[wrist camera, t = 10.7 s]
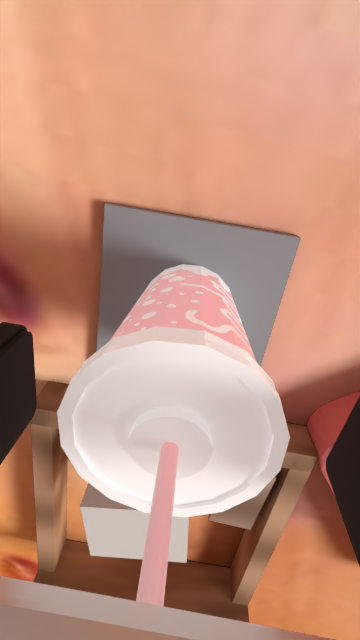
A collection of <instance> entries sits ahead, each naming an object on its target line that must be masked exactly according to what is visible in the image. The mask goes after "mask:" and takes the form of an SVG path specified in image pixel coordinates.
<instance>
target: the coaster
mask: <svg viewBox="0 0 360 640" xmlns="http://www.w3.org/2000/svg"><path fill="white" fill-rule="evenodd" d="M300 239H301V238H300V237H299V236H297V235H291V234H286V233H280V232H274V231H269V230H263V229H257V228H251V227H246V226H240V225H234V224H228V223H223V222H217V221H211V220H206V219H200V218H194V217H188V216H183V215H177V214H171V213H166V212H160V211H154V210H148V209H143V208H137V207H131V206H126V205H120V204H114V203H106V204H105V205H104V224H103V242H102V260H101V279H100V297H99V315H98V333H97V351H98V350H99V349H100V348H102V347H103V346H104V345H105V344H107V343H108V342H109V341H110V339H111V338H112V337H113V335H114V334H115V332H116V331H117V329H118V328H119V327H120V325H121V324H122V322H123V321H124V319H125V318H126V317H127V315H128V314H129V312H130V311H131V309H132V308H133V307H134V305H135V304H136V302H137V301H138V299H139V298H140V297H141V295H142V294H143V292H144V291H145V289H146V288H147V287H148V285H149V284H150V282H151V281H152V280H153V279H154V278H156V277H157V276H158V275H159V274H160V273H162V272H163V271H164V270H165V269H168V268H172V267H175V266H178V265H182V264H186V265H197V266H202V267H204V268H206V269H208V270H210V271H212V272H214V273H216V274H218V275H219V277H220V278H221V279H222V280H223V281H224V283H225V284H226V285H227V286H228V287H229V289H230V292H231V295H232V297H233V300H234V303H235V306H236V308H237V311H238V314H239V316H240V319H241V322H242V324H243V327H244V330H245V333H246V335H247V338H248V341H249V343H250V346H251V349H252V352H253V354H254V357H255V360H256V362H257V363H258V364H259V366H261V363H262V359H263V356H264V353H265V350H266V347H267V344H268V340H269V337H270V334H271V331H272V328H273V324H274V321H275V318H276V315H277V312H278V309H279V305H280V302H281V299H282V296H283V293H284V290H285V286H286V283H287V280H288V277H289V274H290V271H291V267H292V264H293V261H294V258H295V255H296V251H297V248H298V245H299V242H300Z"/></svg>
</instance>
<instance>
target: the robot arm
mask: <svg viewBox="0 0 360 640" xmlns="http://www.w3.org/2000/svg"><path fill="white" fill-rule="evenodd" d="M36 407H37V400H36V384H35V368H34V352H33V337H32V333H31V332H28V331H27V329H26V327H25V326H23V325H18V324H12V323H7V322H2V323H0V465H1V463H2V462H3V460H4V459H5V457H6V456H7V454H8V453H9V451H10V450H11V448H12V447H13V445H14V444H15V443H16V441H17V440H18V438H19V437H20V435H21V434H22V432H23V431H24V429H25V428H26V426H27V425H28V424H29V422H30V421H31V419H32V418H33V416H34V414H35V411H36ZM326 471H327V474H328V477H329V480H330V483H331V486H332V489H333V491H334V494H335V497H336V500H337V503H338V506H339V509H340V511H341V514H342V517H343V520H344V523H345V526H346V528H347V531H348V534H349V537H350V540H351V543H352V545H353V548H354V551H355V554H356V557H357V560H358V563H359V565H360V396H359V398H358V400H357V402H356V403H355V405H354V407H353V409H352V411H351V413H350V415H349V417H348V419H347V421H346V423H345V424H344V426H343V428H342V430H341V432H340V434H339V436H338V438H337V440H336V442H335V443H334V445H333V447H332V449H331V451H330V453H329V455H328V457H327V459H326ZM0 640H334V639H329V638H324V637H319V636H314V635H309V634H304V633H299V632H294V631H289V630H284V629H279V628H273V627H268V626H263V625H258V624H253V623H247V622H242V621H237V620H232V619H227V618H221V617H216V616H211V615H206V614H200V613H195V612H190V611H185V610H180V609H174V608H169V607H164V606H158V605H153V604H148V603H143V602H137V601H132V600H127V599H122V598H116V597H111V596H106V595H100V594H95V593H90V592H84V591H79V590H73V589H68V588H63V587H57V586H52V585H46V584H41V583H36V582H30V581H25V580H19V579H14V578H8V577H3V576H0Z"/></svg>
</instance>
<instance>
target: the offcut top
mask: <svg viewBox="0 0 360 640" xmlns="http://www.w3.org/2000/svg"><path fill="white" fill-rule="evenodd" d="M80 509H81V513H82V518H83V523H84V528H85V532H86V537H87V542H88V546H89V551H90V556H102V557H116V558H129V559H142V560H143V555H144V548H145V542H146V536H147V530H148V524H149V518H150V513H144V512H142V511H139V510H137V509H134V508H132V507H129V506H126V505H124V504H121V503H119V502H116V501H114V500H111V499H109V498H108V497H106V496H105V495H104V494H102V493H101V492H100V491H99V490H97V489H96V488H95V487H93V486H92V485H91V484H90V483H89V484H88V487H87V489H86V492H85V495H84V497H83V500H82V503H81V505H80ZM188 527H189V517H176V516H172V524H171V534H170V545H169V555H168V561H169V562H182V563H187V546H188Z"/></svg>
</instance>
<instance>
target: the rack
mask: <svg viewBox="0 0 360 640" xmlns="http://www.w3.org/2000/svg"><path fill="white" fill-rule="evenodd" d="M68 386H69V385H67V384H61V383H55V382H50V381H49V382H48V383H47V384H46V386H45V387H44V389H43V390H42V391H41V393H40V394H39V395H38V397H37V398H36V400H37V407H36V411H35V414H34V416H33V418H32V419H31V438H32V457H33V476H34V495H35V514H36V533H37V552H38V572H37V574H36V577H35V579H34V582H36V583H41V584H46V585H52V586H57V587H63V588H68V589H73V590H79V591H84V592H90V593H95V594H100V595H106V596H111V597H116V598H122V599H127V600H132V601H136V598H137V592H138V586H139V579H140V573H141V567H142V561H143V560H142V559H129V558H116V557H102V556H90V551H89V546H88V543H83V542H77V541H71V540H66V526H67V455H66V453H65V452H64V450H63V449H62V447H61V443H60V434H59V425H58V416H57V411H58V409H59V407H60V404H61V402H62V400H63V397H64V395H65V393H66V390H67V388H68ZM287 427H288V431H289V435H290V439H289V443H288V446H287V450H286V453H285V457H284V460H283V463H282V467H281V470H280V472H279V473H278V474H277V475H276V480H275V482H274V484H273V486H272V488H271V490H270V492H269V494H268V496H267V498H266V500H265V502H264V504H263V506H262V508H261V510H260V512H259V514H258V516H257V518H256V520H255V522H254V524H253V526H252V528H251V530H249V529H245V531H244V533H243V536H242V538H241V541H240V543H239V546H238V549H237V551H236V554H235V556H234V559H233V561H232V564H231V566H230V568H227V567H222V566H216V565H210V564H204V563H198V562H193V561H187V563H182V562H169V561H168V565H167V575H166V586H165V596H164V607H169V608H174V609H180V610H185V611H190V612H195V613H200V614H206V615H211V616H216V617H221V618H227V619H232V620H237V621H242V622H247V623H249V615H248V604H249V602H250V600H251V598H252V595H253V593H254V591H255V589H256V587H257V585H258V583H259V581H260V579H261V576H262V574H263V572H264V570H265V568H266V566H267V564H268V562H269V560H270V558H271V555H272V553H273V551H274V549H275V547H276V545H277V543H278V541H279V539H280V536H281V534H282V532H283V530H284V528H285V526H286V524H287V522H288V520H289V518H290V515H291V513H292V511H293V509H294V507H295V505H296V503H297V501H298V499H299V496H300V494H301V492H302V490H303V488H304V486H305V484H306V482H307V480H308V478H309V475H310V473H311V471H312V469H313V467H314V465H315V463H316V461H317V459H318V456H317V453H316V451H315V448H314V445H313V443H312V440H311V437H310V435H309V432H308V430H307V427H306V426H303V425H298V424H292V423H287Z"/></svg>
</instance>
